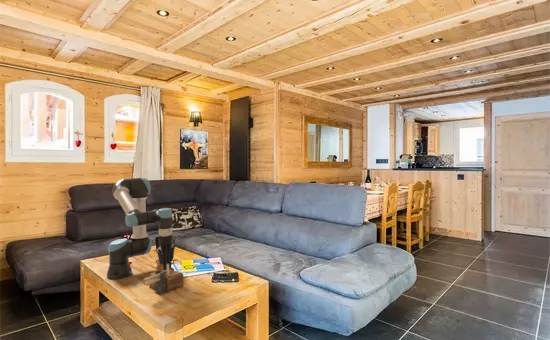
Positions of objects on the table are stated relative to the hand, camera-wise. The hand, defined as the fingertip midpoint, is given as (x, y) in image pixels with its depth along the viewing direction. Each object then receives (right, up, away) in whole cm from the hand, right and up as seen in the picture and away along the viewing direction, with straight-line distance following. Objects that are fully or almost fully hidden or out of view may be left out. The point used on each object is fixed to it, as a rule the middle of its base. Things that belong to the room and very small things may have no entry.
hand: (166, 274), depth 185 cm
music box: (-9, -9, +26) cm, 28 cm away
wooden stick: (-4, -1, -7) cm, 8 cm away
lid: (-2, -2, +5) cm, 6 cm away
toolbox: (-3, -9, +4) cm, 11 cm away
